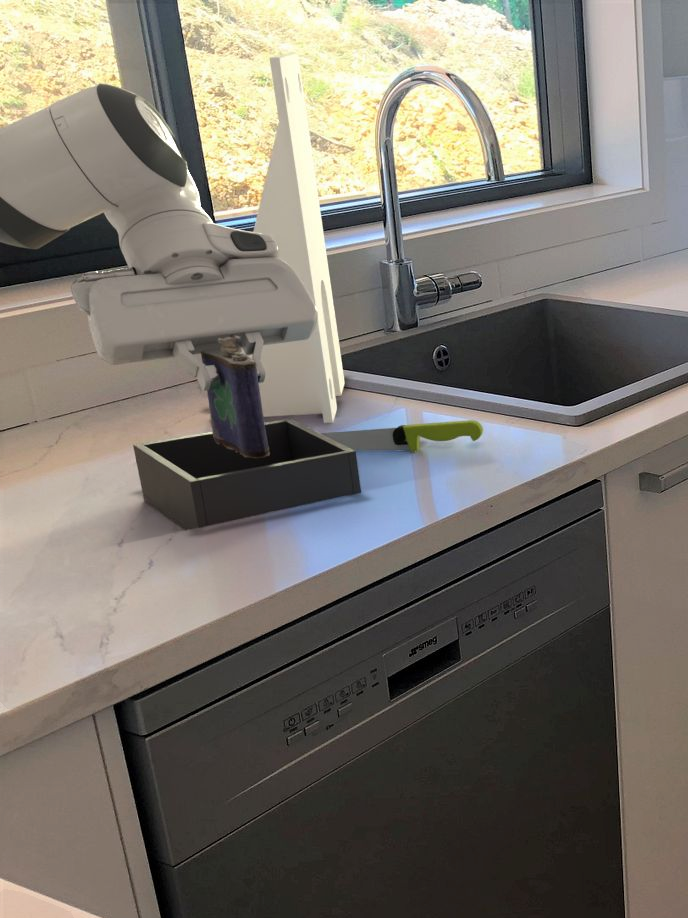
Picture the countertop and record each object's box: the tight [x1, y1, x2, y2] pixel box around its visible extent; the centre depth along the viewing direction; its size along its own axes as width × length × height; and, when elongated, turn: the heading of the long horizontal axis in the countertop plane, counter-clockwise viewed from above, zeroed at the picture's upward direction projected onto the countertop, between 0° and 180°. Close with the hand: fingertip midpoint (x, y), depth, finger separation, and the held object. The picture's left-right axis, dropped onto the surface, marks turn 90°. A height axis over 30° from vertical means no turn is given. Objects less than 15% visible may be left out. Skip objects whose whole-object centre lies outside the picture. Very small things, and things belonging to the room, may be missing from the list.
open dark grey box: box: [132, 418, 362, 531], centre depth 136 cm, size 16×16×6 cm
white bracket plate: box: [209, 52, 346, 424], centre depth 164 cm, size 20×14×40 cm
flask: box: [200, 336, 270, 458], centre depth 133 cm, size 9×3×11 cm, turn 44°
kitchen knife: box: [319, 419, 484, 453], centre depth 154 cm, size 22×1×3 cm, turn 90°
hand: (235, 383), depth 132 cm, fingers closed on flask, 3 cm apart
